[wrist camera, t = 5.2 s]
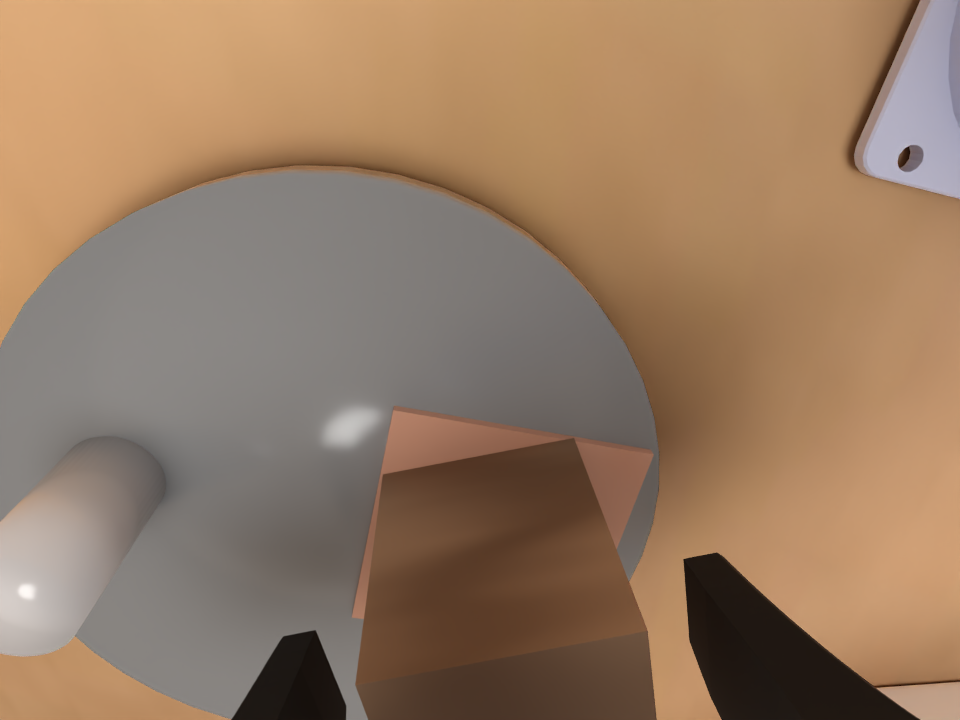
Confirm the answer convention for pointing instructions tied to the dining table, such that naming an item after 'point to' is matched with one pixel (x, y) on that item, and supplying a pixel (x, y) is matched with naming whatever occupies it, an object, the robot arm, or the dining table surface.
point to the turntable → (281, 414)
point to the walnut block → (500, 597)
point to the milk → (928, 700)
